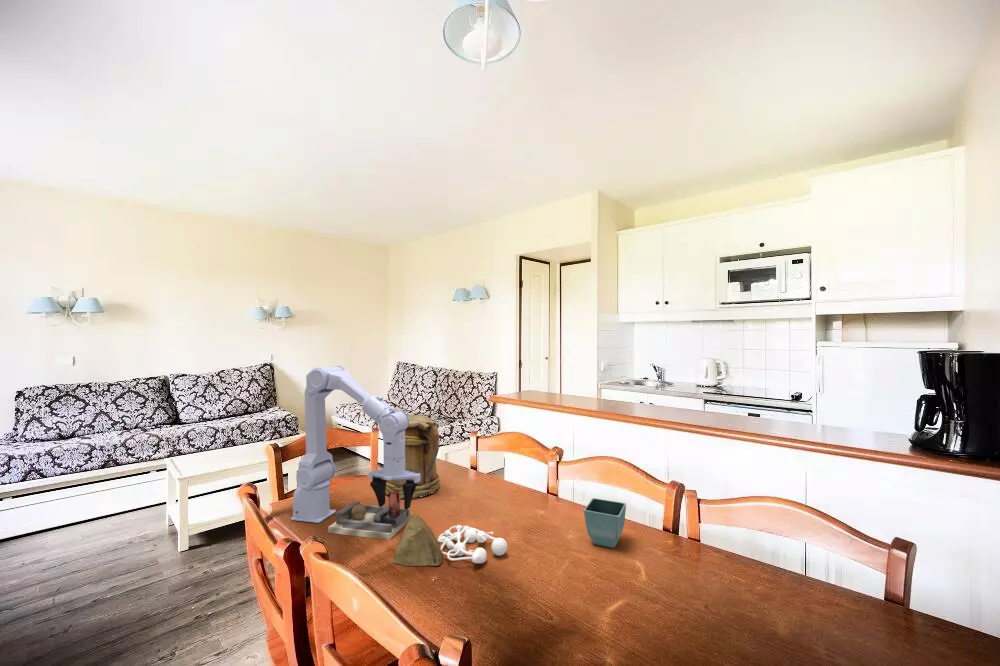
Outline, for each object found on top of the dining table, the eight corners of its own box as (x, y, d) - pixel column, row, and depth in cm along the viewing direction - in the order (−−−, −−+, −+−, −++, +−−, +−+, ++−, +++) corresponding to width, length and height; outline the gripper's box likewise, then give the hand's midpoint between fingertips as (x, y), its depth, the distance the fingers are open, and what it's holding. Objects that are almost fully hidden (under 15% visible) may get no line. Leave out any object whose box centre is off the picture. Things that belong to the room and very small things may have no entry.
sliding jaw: (373, 527, 107) (373, 495, 107) (388, 514, 115) (388, 485, 115) (394, 529, 105) (394, 497, 106) (408, 516, 113) (408, 487, 113)
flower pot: (583, 546, 100) (583, 509, 100) (592, 531, 107) (592, 497, 108) (620, 554, 96) (619, 516, 96) (627, 538, 103) (626, 503, 104)
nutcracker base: (328, 532, 108) (328, 515, 108) (354, 513, 120) (354, 498, 120) (389, 539, 104) (389, 522, 104) (410, 519, 115) (410, 503, 115)
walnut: (348, 521, 111) (348, 507, 111) (356, 515, 115) (356, 501, 115) (361, 523, 110) (361, 508, 110) (369, 516, 114) (369, 502, 114)
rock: (455, 549, 94) (429, 530, 101) (440, 528, 90) (414, 510, 97) (423, 592, 89) (397, 569, 95) (405, 573, 84) (380, 550, 91)
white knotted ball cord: (422, 547, 103) (421, 531, 103) (470, 526, 111) (468, 511, 111) (462, 580, 87) (461, 561, 87) (514, 553, 96) (512, 536, 96)
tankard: (414, 477, 152) (414, 410, 152) (460, 490, 137) (459, 417, 138) (373, 491, 138) (373, 417, 138) (418, 508, 123) (418, 426, 124)
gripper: (362, 459, 108) (362, 510, 108) (412, 462, 105) (412, 515, 104) (376, 452, 115) (376, 500, 115) (423, 455, 111) (423, 504, 111)
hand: (394, 506), depth 110 cm, fingers open, 7 cm apart
